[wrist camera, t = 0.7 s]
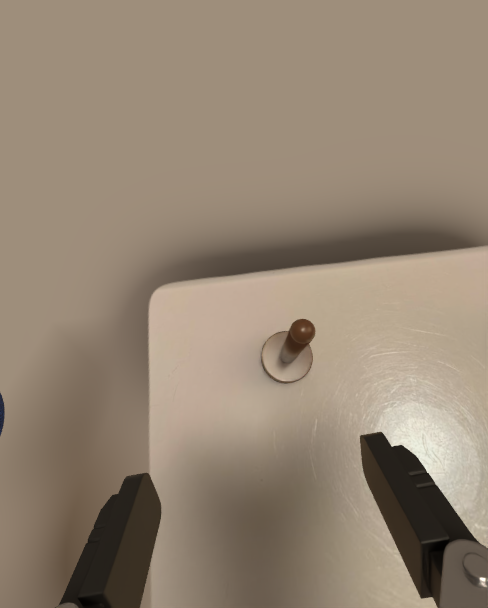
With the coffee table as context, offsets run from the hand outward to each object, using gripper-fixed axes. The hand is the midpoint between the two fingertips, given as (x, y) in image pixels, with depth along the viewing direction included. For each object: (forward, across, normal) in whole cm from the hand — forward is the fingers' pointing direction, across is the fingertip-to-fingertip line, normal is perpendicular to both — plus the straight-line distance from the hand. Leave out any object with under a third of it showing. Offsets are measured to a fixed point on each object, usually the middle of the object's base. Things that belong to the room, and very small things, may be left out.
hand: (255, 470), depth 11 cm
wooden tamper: (+20, -3, +8) cm, 22 cm away
